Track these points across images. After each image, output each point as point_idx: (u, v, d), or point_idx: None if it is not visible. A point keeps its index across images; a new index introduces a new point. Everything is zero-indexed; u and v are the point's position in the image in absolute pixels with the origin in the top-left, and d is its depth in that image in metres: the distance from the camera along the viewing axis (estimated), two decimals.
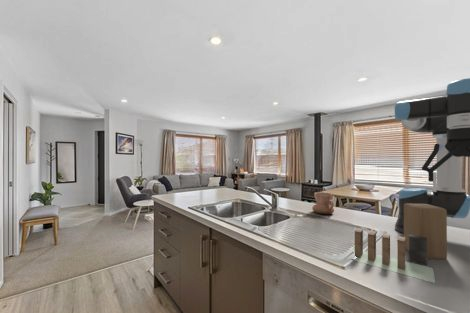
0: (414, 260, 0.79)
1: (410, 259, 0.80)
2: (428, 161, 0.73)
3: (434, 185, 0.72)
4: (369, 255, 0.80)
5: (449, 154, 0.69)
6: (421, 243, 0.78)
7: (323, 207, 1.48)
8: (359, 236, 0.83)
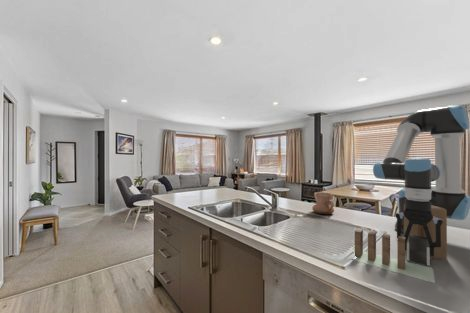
0: (414, 260, 0.79)
1: (410, 259, 0.80)
2: (398, 230, 0.82)
3: (407, 254, 0.80)
4: (369, 255, 0.80)
5: (410, 223, 0.79)
6: (421, 243, 0.78)
7: (323, 207, 1.48)
8: (359, 236, 0.83)
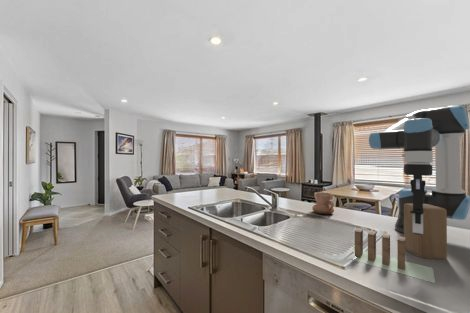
0: None
1: None
2: None
3: None
4: (369, 255, 0.80)
5: None
6: None
7: (323, 207, 1.48)
8: (359, 236, 0.83)
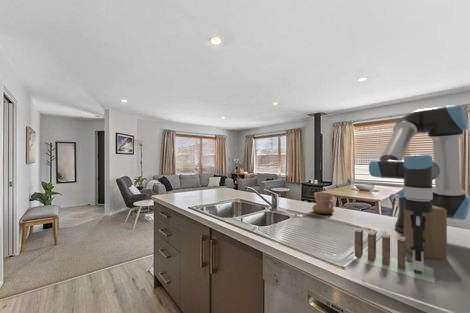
0: None
1: None
2: None
3: None
4: (369, 255, 0.80)
5: None
6: None
7: (323, 207, 1.48)
8: (359, 236, 0.83)
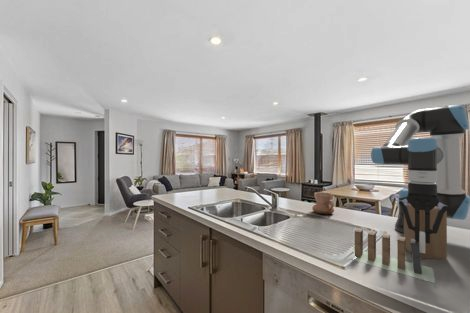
0: None
1: None
2: (407, 219, 0.74)
3: (420, 246, 0.72)
4: (369, 255, 0.80)
5: (416, 210, 0.72)
6: (411, 247, 0.74)
7: (323, 207, 1.48)
8: (359, 236, 0.83)
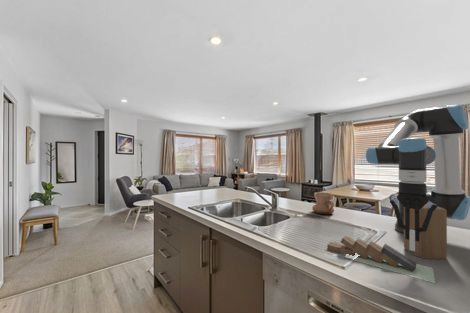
0: None
1: None
2: (398, 218, 0.76)
3: (410, 244, 0.73)
4: (361, 254, 0.82)
5: (406, 208, 0.74)
6: None
7: (323, 207, 1.48)
8: (331, 246, 0.89)
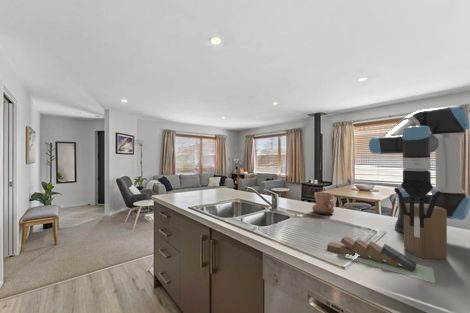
0: None
1: None
2: (402, 205, 0.77)
3: (415, 230, 0.75)
4: (361, 254, 0.82)
5: (411, 196, 0.75)
6: None
7: (323, 207, 1.48)
8: (331, 246, 0.89)
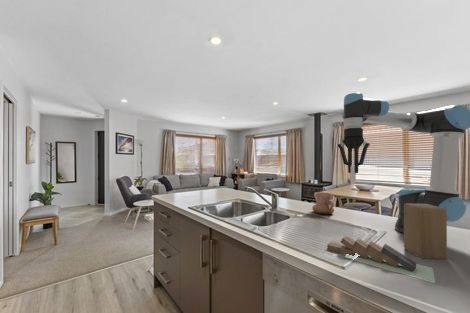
0: None
1: None
2: (343, 157, 0.97)
3: (351, 175, 0.95)
4: (361, 254, 0.82)
5: (348, 148, 0.95)
6: None
7: (323, 207, 1.48)
8: (331, 246, 0.89)
